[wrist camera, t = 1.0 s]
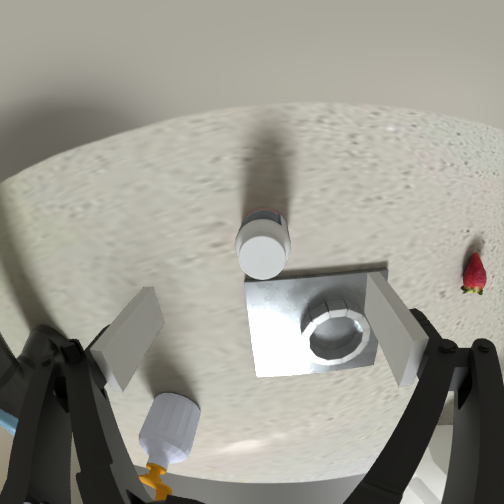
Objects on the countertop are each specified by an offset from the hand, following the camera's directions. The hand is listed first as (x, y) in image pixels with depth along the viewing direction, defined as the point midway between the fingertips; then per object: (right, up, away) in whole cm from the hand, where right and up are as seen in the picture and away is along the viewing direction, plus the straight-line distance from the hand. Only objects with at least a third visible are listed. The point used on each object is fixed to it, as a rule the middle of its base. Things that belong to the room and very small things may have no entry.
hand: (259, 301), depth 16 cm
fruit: (+32, 0, +15) cm, 35 cm away
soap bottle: (-14, -26, +28) cm, 41 cm away
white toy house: (+45, -48, +31) cm, 73 cm away
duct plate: (+8, -7, +19) cm, 22 cm away
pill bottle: (+1, +5, +15) cm, 16 cm away
